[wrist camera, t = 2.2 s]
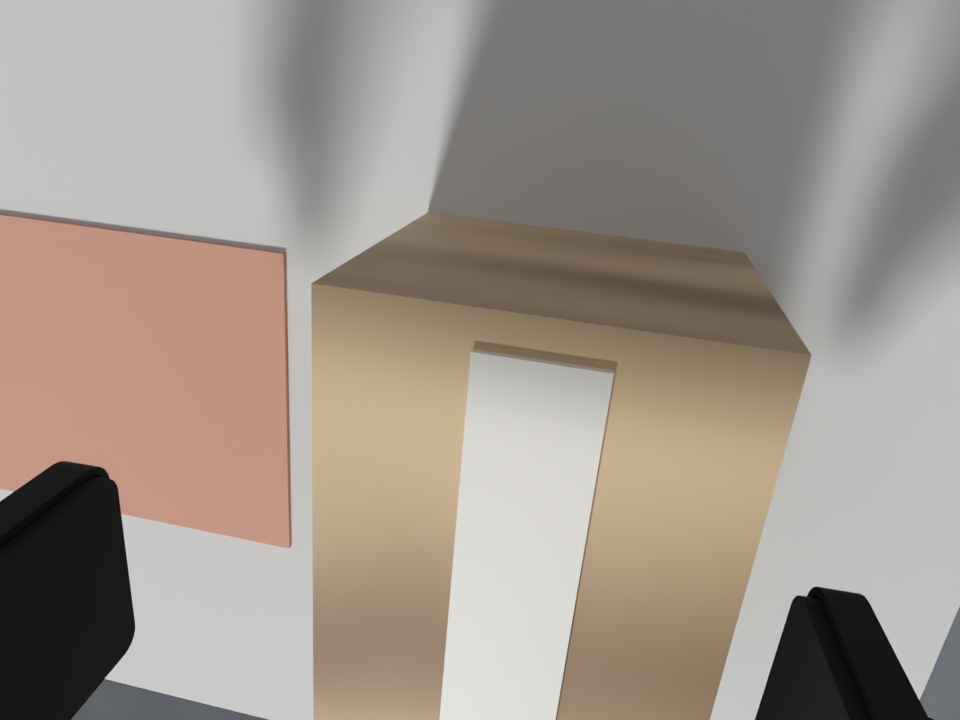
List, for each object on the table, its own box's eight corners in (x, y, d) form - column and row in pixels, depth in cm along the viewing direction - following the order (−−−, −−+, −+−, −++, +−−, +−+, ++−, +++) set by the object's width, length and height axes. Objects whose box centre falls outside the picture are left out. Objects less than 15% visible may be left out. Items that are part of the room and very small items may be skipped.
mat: (1202, -25, 10) (1235, -33, 9) (843, 841, 17) (850, 867, 16) (-306, -116, 14) (-344, -124, 13) (-101, 611, 21) (-121, 626, 20)
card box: (427, 212, 13) (307, 285, 8) (743, 252, 12) (814, 359, 7) (405, 609, 16) (311, 821, 11) (650, 662, 15) (657, 914, 11)
